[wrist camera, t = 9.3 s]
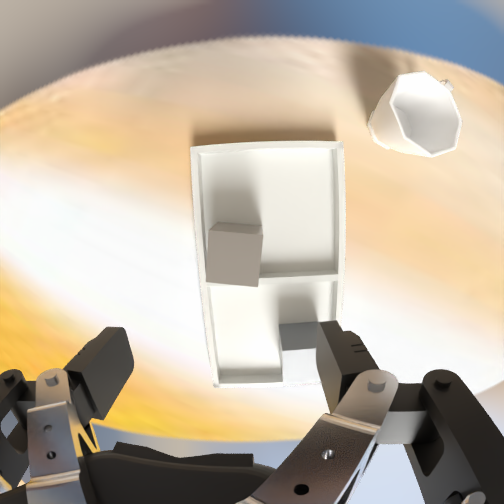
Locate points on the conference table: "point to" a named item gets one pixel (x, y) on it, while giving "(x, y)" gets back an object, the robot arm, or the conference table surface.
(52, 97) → the conference table surface
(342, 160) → the divided tray
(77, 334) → the conference table surface
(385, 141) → the cup
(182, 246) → the conference table surface
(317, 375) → the matte grey cube
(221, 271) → the stone
